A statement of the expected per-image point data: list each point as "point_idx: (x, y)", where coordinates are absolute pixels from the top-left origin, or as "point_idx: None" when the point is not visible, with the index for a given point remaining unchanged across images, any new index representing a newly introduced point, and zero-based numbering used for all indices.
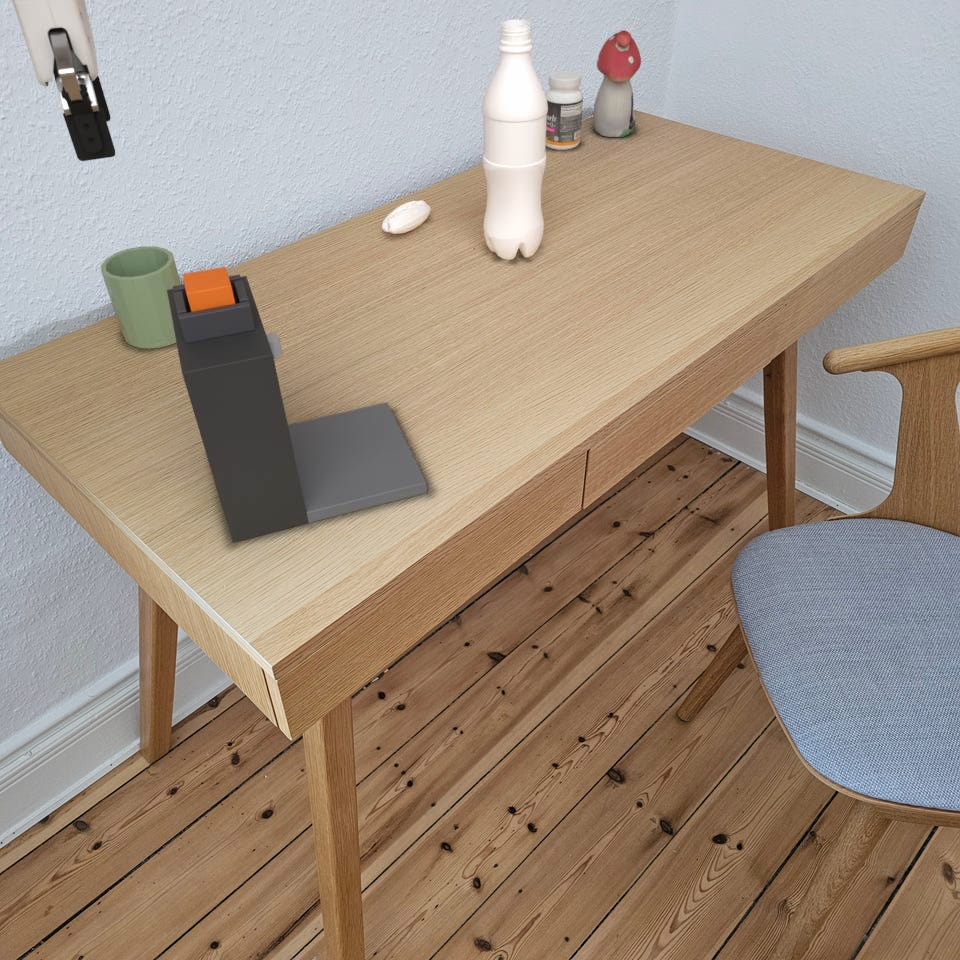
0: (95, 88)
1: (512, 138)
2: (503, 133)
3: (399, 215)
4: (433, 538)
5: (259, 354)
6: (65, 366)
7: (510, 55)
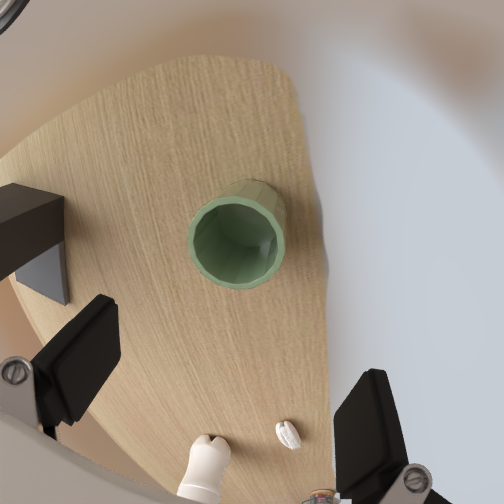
0: (342, 473)
1: None
2: None
3: (283, 435)
4: None
5: None
6: (237, 111)
7: None
